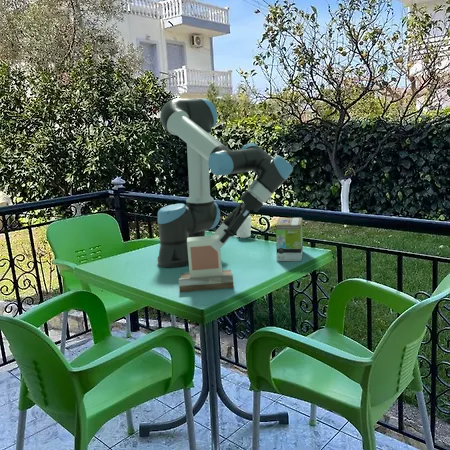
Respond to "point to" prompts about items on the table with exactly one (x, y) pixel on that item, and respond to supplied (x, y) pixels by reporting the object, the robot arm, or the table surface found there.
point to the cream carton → (203, 256)
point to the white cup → (245, 228)
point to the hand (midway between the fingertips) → (214, 243)
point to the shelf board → (206, 282)
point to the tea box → (289, 239)
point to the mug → (197, 234)
